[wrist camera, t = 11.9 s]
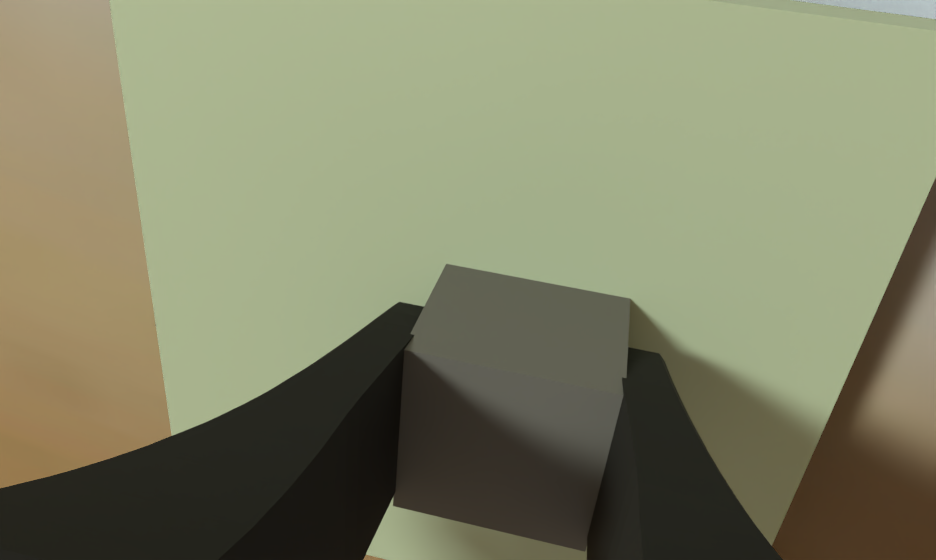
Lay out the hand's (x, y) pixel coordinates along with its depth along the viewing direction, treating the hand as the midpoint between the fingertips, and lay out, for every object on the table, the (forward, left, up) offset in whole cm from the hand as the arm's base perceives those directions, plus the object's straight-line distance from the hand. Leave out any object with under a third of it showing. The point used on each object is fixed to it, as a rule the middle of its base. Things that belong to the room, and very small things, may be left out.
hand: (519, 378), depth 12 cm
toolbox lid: (0, +1, -2) cm, 2 cm away
